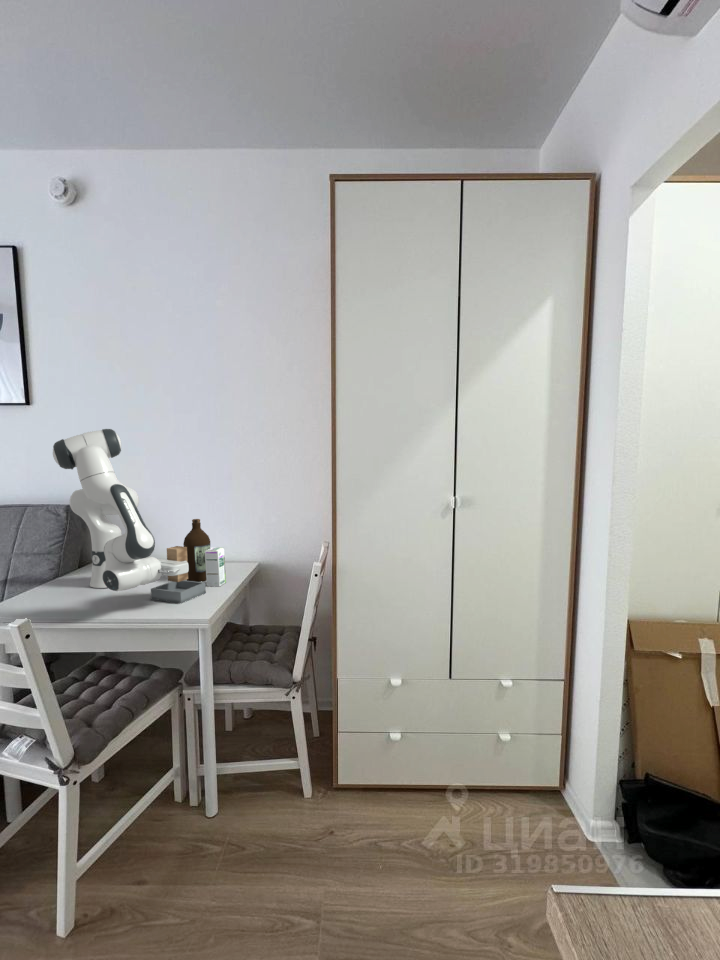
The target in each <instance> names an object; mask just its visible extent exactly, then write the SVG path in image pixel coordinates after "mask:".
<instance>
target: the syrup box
mask: <svg viewBox="0 0 720 960" xmlns="http://www.w3.org/2000/svg"><path fill="white" fill-rule="evenodd" d="M225 559H226V558H225V548H224V547H219V546H217V547H210V549H208V550H206V551H205V563H206V581H205V582H206V586H207V587H214V586H215V587H214V588H216V587H217V588H218V587H220V588H221V586H222V585H224V584H226V583H227V580H226V579H227V577H226V560H225Z"/></svg>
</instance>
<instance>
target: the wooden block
mask: <svg viewBox="0 0 720 960" xmlns="http://www.w3.org/2000/svg"><path fill="white" fill-rule="evenodd" d="M166 560H173V561H180V562H181V561H183V560H184V561H187V547H184V546H179V545H175V546H171V547H167V548H166ZM187 563H188V562H187ZM187 579H188V572H187V573H185V574H180V575H176V576H167V582H171V581H173V582H180V581H183V580H186V581H187Z"/></svg>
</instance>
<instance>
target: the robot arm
mask: <svg viewBox="0 0 720 960" xmlns="http://www.w3.org/2000/svg"><path fill="white" fill-rule="evenodd" d="M52 447H53V448H52V457H53V459H54V462H56V464H57V465H59V467H60V468H61V469H64V470H74V468H76V470H77V475H78V480H79V481H80V486H81V489H76V490H74V491H73V492H72V494H71V495H70V498H69V507H70V509H71V510H72V512H73V513H74V514H75V515H77V516H78V517H80V518H81V519H82V520H83V522H85V524H86V526H87V527H88V530H89V534H90V539H91V540H90V541H91V550H90V559H91V562H92V563H91V574H90V575H91V576H90V581H89V587H91V588H94V589H106V588H107V589H109V590H111V591H113V592H121V591H122V592H123V591H127V590H130V589H135V588H137V587H139V586H144V585H148V584H151V583H154V582H158V581H160V578H161V577H162V576H167V577H168V576H176V575H180V574H185V573H187V572H188V571H189V565H188V563H187V561H184V560H183V561H181V562H180V561H173V560H167V559H165V558H156V557H155V556H151V555H152V554H153V552H154V551H155V545H156V542H155V541H156V540H155V537H154V535H153V533H152V532H151V531H150V529H149V528H148V526H147V525H146V523H145V521H144V519H143V518H142V516H141V513H140V511H139V509H138V507H139V505H140V504H139V503H140V498H139V494H138V493H137V491H136V490H135V489H134V488H131V487H130V486H127V485H125V484H124V483H122V482H121V481H120V480H119V479H118V478H117V475H116V472H115V470H114V466H113V465H112V462H111V460H110V458H111V459H112V458H113V459H114V458H115V457H117V456H119V455H120V454H121V452H122V440H121V438H120V436H119V434H118V433H117V432H116V431H115V430H114V429H112V428H102V429H101V430H92V431H88V432H82V433H80V434H77V435H74V436H71V437H68V438H62V439H60V440H58V441H56V442H54V444H53V446H52ZM115 515H116V516H119V518H120V520H121V522H122V524H123V527H124V530H125V533H123V534H122V530H121V528H120V526H118V525H117V524H115V523H112V522H110V521H109V520H108V518H107V517H106V516H115Z"/></svg>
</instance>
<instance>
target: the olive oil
mask: <svg viewBox="0 0 720 960" xmlns="http://www.w3.org/2000/svg"><path fill="white" fill-rule="evenodd" d="M191 521H192V523H191V526H192V527H191V529H190V531H189V532H188V533H187V534H186V535H185V537H184V539H183V543H182V544H183V547H187V562H188V565H189V571H188V579H187V580H186V581H194V582H201V581H202V582H207V581H206V563H205V551H206V550H208V549H210V548H211V540H210V536H209V535H208V534H207V533H206V532H205V531H204V530H203V529H202V526H201V519H200V518H194V519H193V518H192V519H191Z"/></svg>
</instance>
